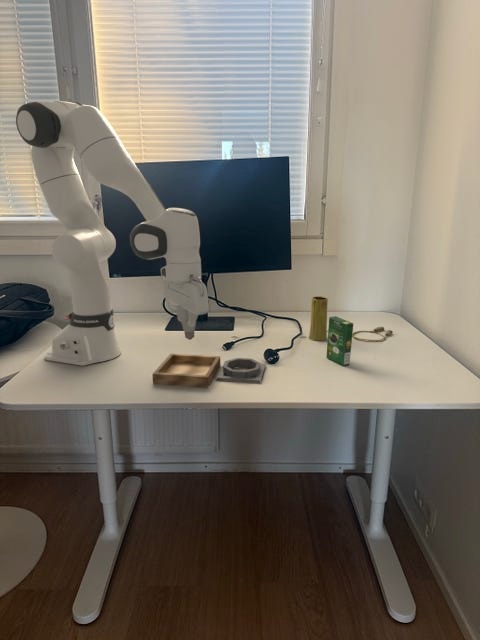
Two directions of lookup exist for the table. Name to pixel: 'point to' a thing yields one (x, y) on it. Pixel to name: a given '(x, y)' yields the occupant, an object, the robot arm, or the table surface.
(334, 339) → the coffee box
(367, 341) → the extension cord
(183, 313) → the lightbulb
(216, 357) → the tray
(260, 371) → the socket
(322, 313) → the vase
